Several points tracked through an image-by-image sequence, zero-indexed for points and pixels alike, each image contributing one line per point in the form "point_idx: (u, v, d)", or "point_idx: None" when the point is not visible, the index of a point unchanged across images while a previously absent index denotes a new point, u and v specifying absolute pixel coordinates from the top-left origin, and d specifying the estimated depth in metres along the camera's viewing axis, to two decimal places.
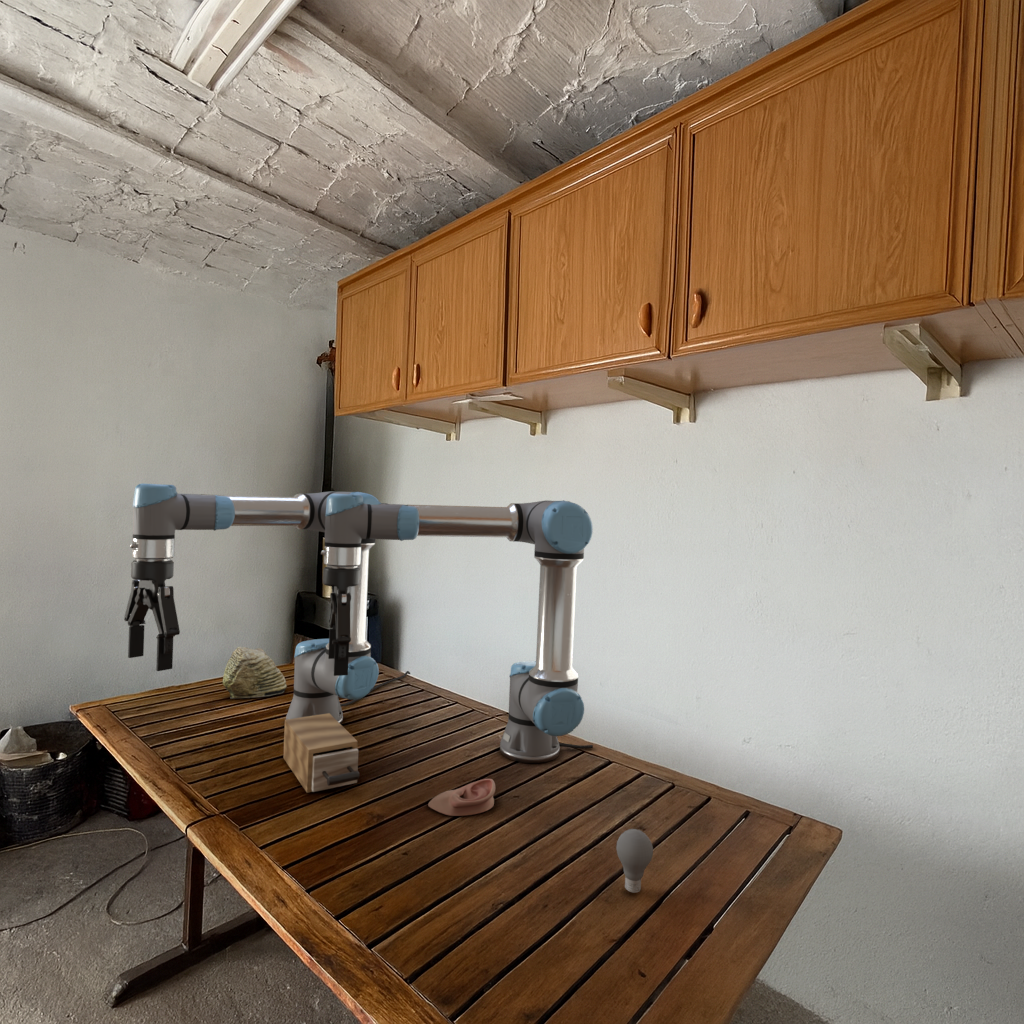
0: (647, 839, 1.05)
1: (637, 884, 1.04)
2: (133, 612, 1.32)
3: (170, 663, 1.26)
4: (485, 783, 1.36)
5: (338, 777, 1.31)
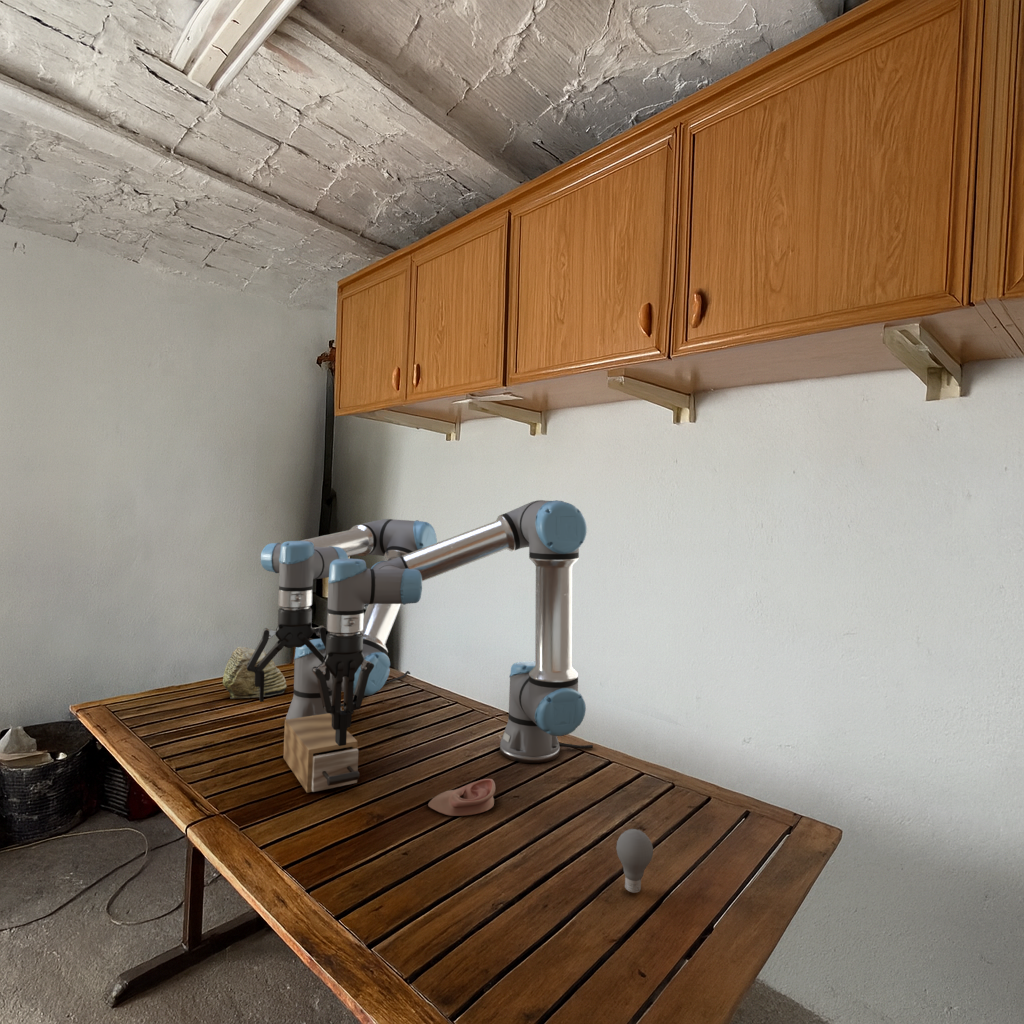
0: (647, 839, 1.05)
1: (637, 884, 1.04)
2: (268, 659, 1.45)
3: None
4: (485, 783, 1.36)
5: (338, 777, 1.31)
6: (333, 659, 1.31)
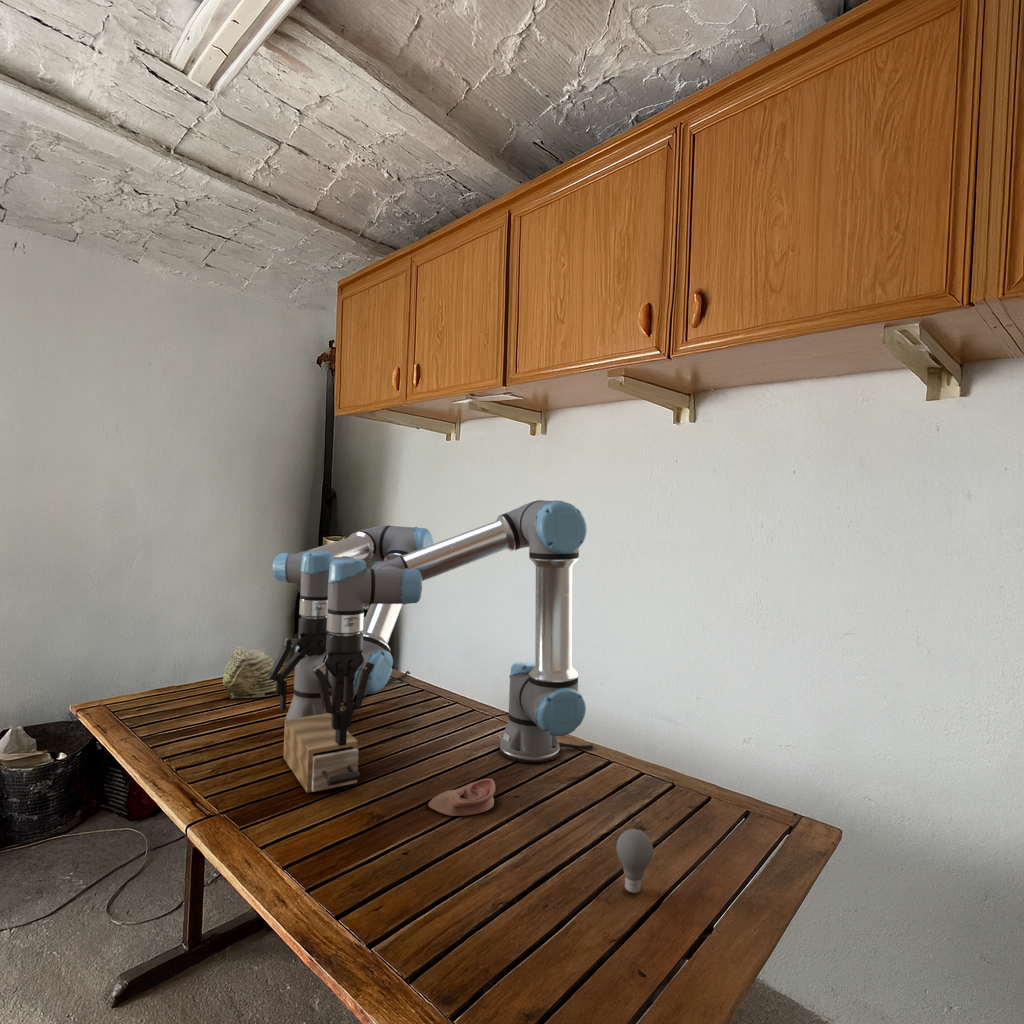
0: (647, 839, 1.05)
1: (637, 884, 1.04)
2: (290, 667, 1.48)
3: None
4: (485, 783, 1.36)
5: (338, 777, 1.31)
6: (333, 659, 1.31)
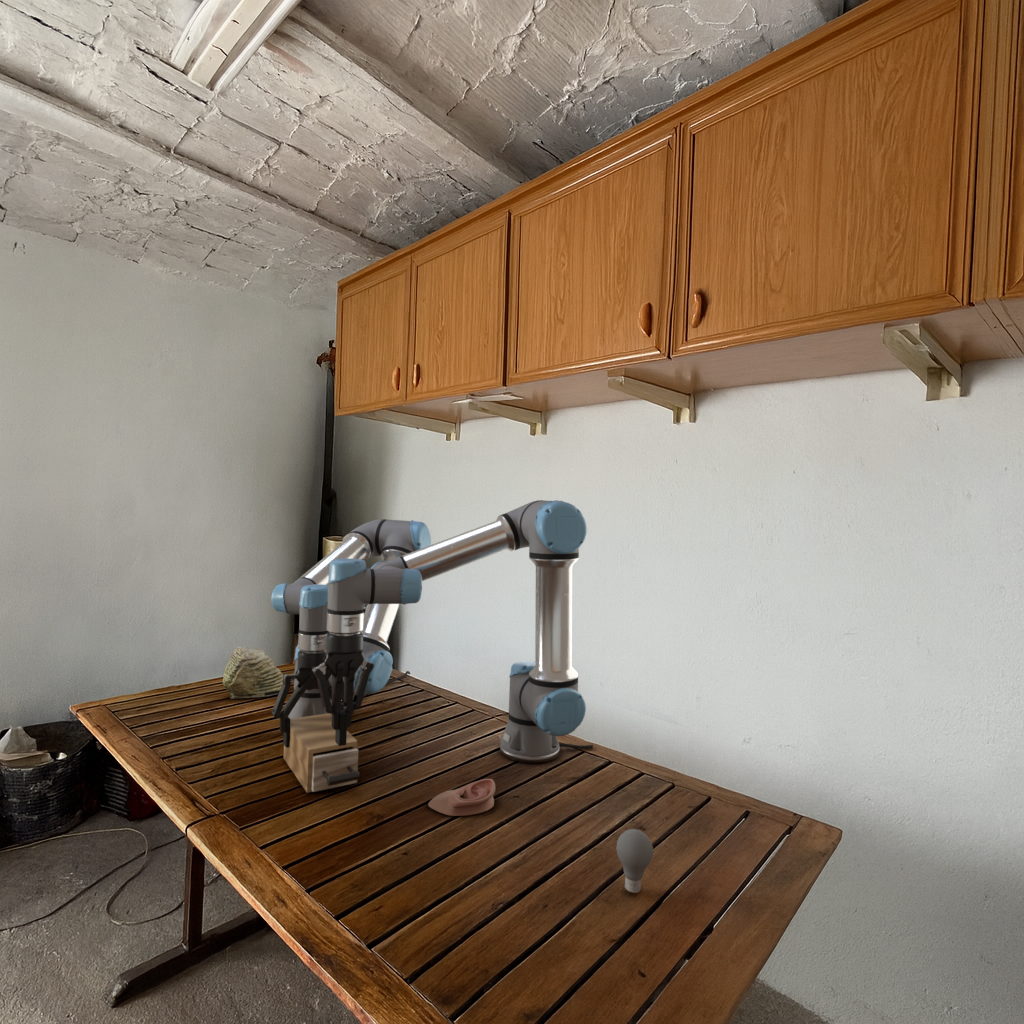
0: (647, 839, 1.05)
1: (637, 884, 1.04)
2: (293, 704, 1.48)
3: None
4: (485, 783, 1.36)
5: (338, 777, 1.31)
6: (333, 659, 1.31)
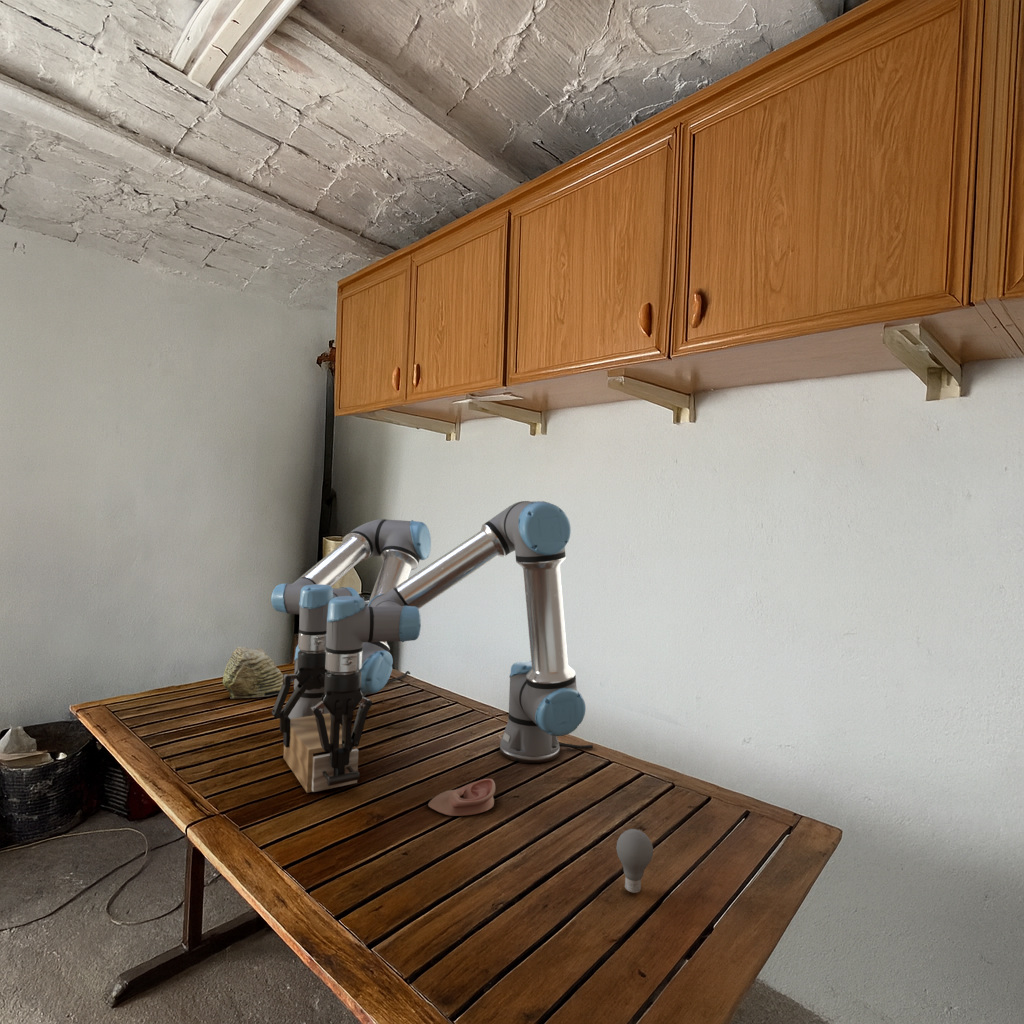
0: (647, 839, 1.05)
1: (637, 884, 1.04)
2: (293, 704, 1.48)
3: None
4: (485, 783, 1.36)
5: (338, 778, 1.31)
6: (331, 698, 1.31)
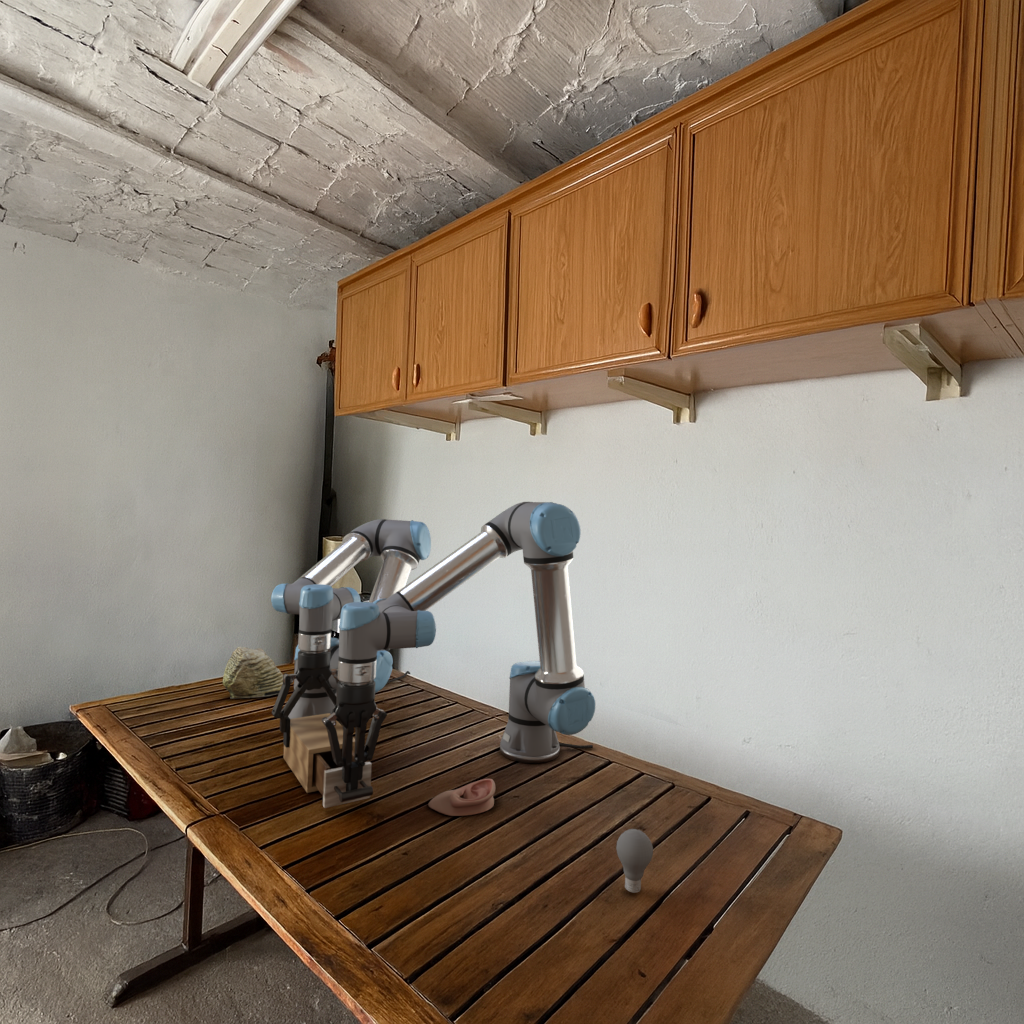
0: (647, 839, 1.05)
1: (637, 884, 1.04)
2: (293, 704, 1.48)
3: None
4: (485, 783, 1.36)
5: (351, 793, 1.24)
6: (344, 709, 1.25)
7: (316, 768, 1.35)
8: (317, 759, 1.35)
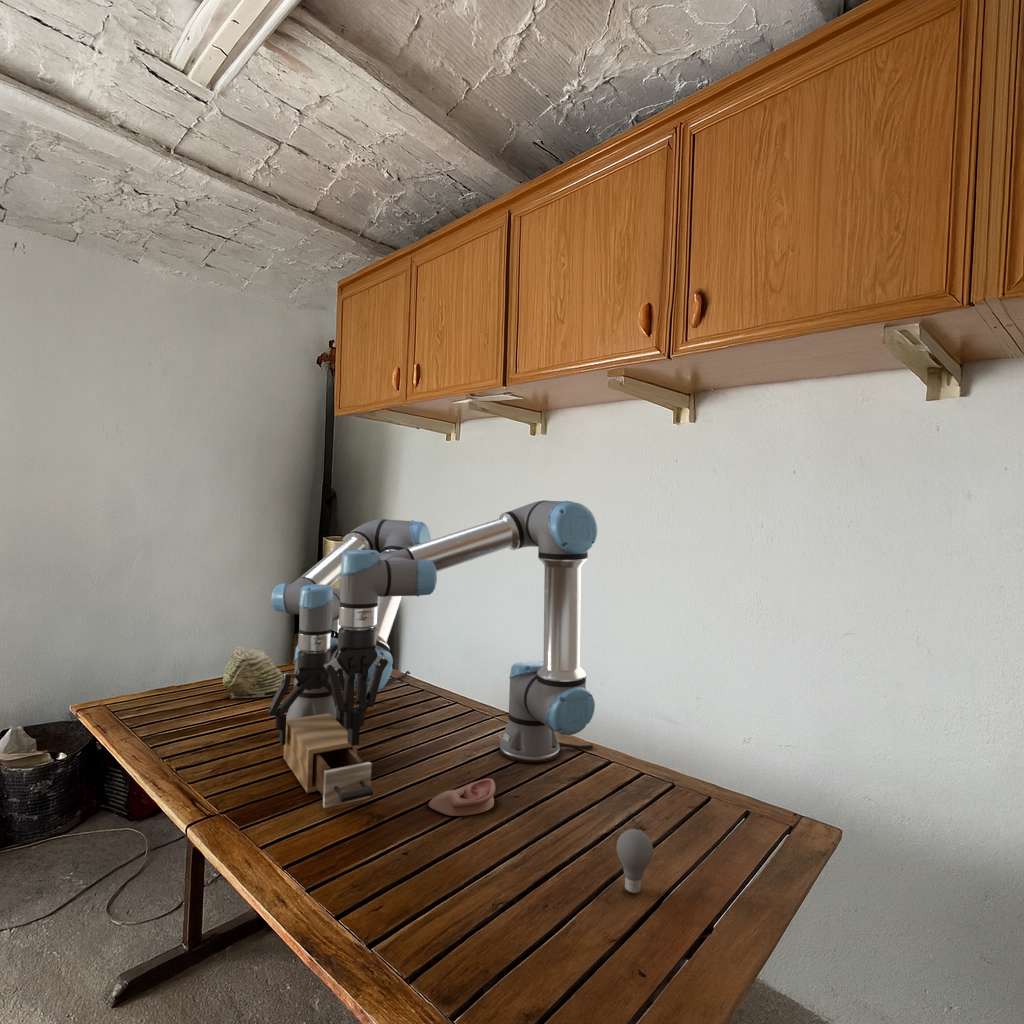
0: (647, 839, 1.05)
1: (637, 884, 1.04)
2: (290, 702, 1.48)
3: None
4: (485, 783, 1.36)
5: (351, 793, 1.24)
6: (345, 655, 1.25)
7: (316, 768, 1.35)
8: (317, 759, 1.35)
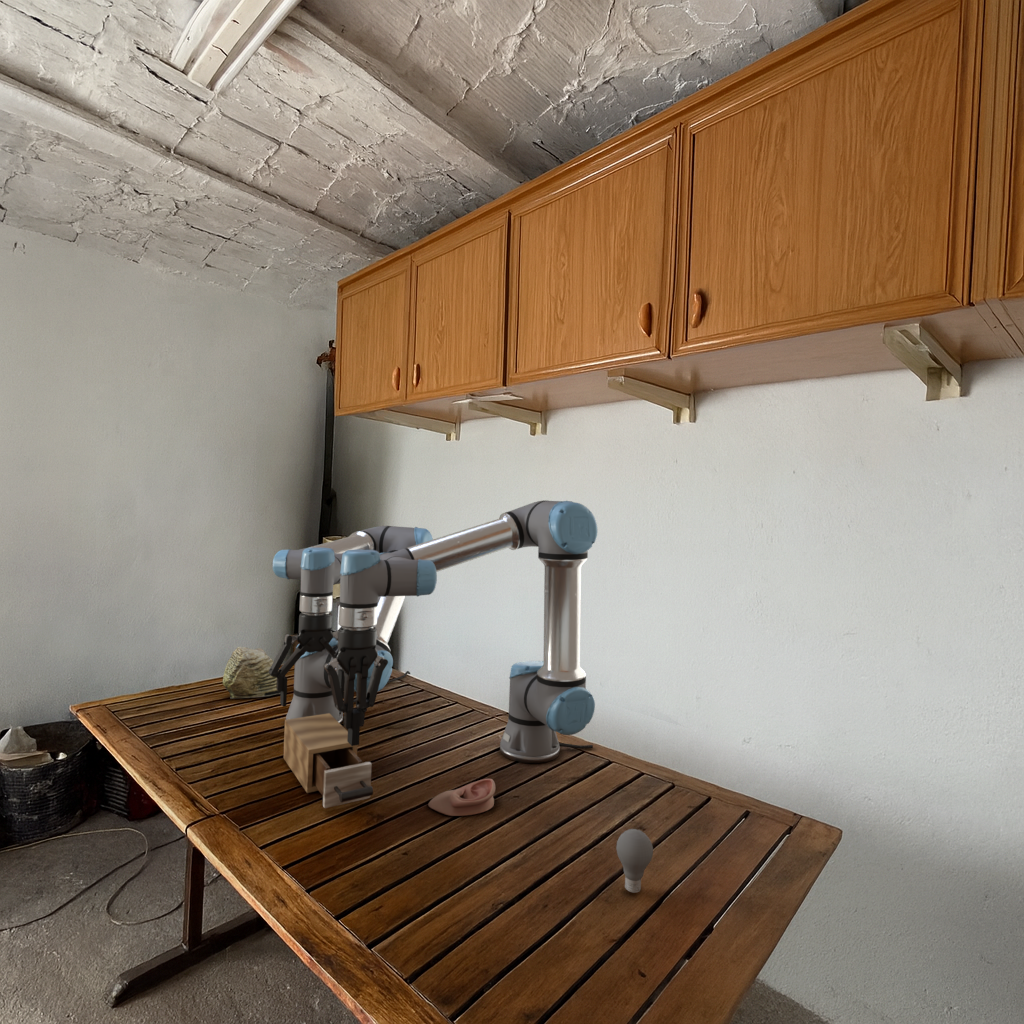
0: (647, 839, 1.05)
1: (637, 884, 1.04)
2: (291, 664, 1.48)
3: None
4: (485, 783, 1.36)
5: (351, 793, 1.24)
6: (345, 655, 1.25)
7: (316, 768, 1.35)
8: (317, 759, 1.35)
